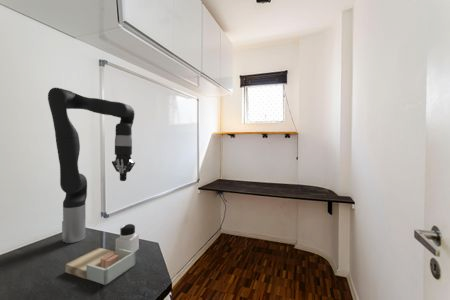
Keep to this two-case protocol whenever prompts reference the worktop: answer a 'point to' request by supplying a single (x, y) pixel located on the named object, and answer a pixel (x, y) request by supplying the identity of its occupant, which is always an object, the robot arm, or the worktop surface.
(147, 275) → the worktop surface
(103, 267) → the tile
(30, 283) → the worktop surface
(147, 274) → the worktop surface
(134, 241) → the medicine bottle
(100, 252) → the wooden slab
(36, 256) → the worktop surface
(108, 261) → the tile
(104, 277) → the box
